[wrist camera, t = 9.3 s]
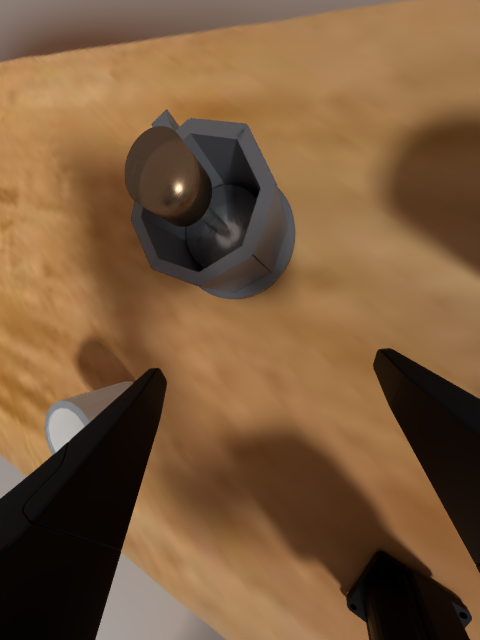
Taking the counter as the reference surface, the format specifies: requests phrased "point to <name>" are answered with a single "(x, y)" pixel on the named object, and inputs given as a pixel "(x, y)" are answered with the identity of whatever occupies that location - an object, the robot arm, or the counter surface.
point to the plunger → (187, 195)
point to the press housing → (264, 228)
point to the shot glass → (78, 413)
